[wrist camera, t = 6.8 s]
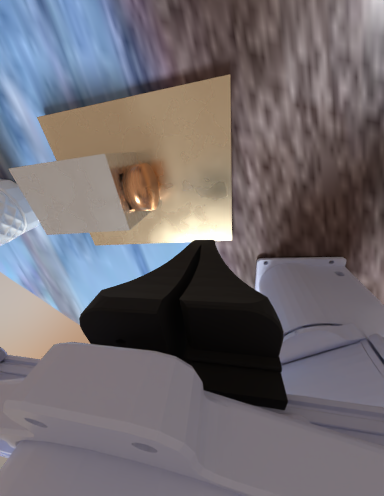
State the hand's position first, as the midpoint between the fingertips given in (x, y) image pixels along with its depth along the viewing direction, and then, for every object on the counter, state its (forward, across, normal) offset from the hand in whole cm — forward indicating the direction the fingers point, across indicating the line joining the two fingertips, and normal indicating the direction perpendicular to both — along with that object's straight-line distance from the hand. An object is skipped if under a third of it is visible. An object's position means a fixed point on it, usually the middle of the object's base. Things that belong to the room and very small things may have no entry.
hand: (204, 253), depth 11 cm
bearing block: (+9, +7, -3) cm, 12 cm away
